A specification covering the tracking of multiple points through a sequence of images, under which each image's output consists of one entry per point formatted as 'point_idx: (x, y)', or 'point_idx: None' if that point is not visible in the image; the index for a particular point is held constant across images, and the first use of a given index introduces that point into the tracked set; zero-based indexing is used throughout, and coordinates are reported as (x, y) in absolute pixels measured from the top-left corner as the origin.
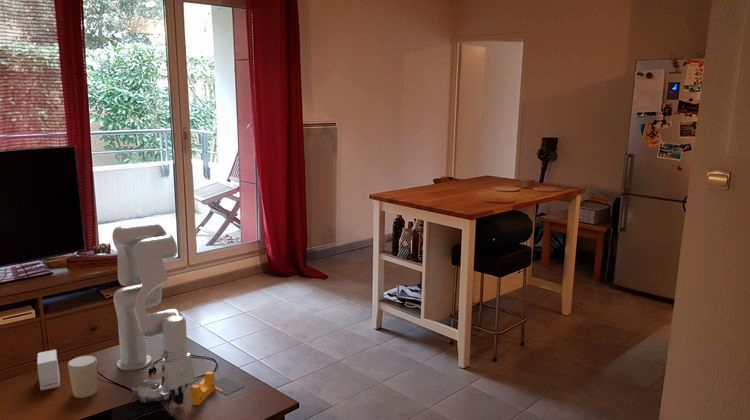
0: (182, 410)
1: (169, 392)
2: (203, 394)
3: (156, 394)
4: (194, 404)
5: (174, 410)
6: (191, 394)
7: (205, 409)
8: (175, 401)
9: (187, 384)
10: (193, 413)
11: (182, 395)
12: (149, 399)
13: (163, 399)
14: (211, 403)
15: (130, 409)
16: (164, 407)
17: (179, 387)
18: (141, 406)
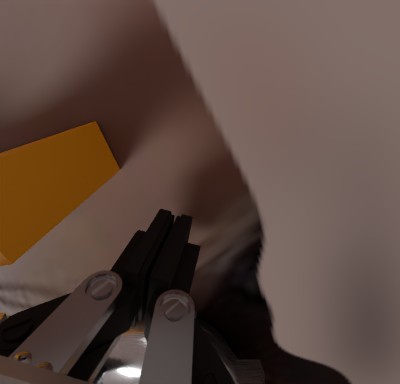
0: (200, 174)
1: (140, 326)
2: (1, 153)
3: None
4: (109, 153)
5: (224, 215)
6: (70, 206)
7: (91, 21)
8: (198, 254)
9: (8, 318)
10: (188, 67)
11: (139, 252)
12: (234, 359)
13: (195, 315)
14: (16, 55)
15: (306, 367)
16: (226, 274)
17: (100, 341)
18: (266, 348)
